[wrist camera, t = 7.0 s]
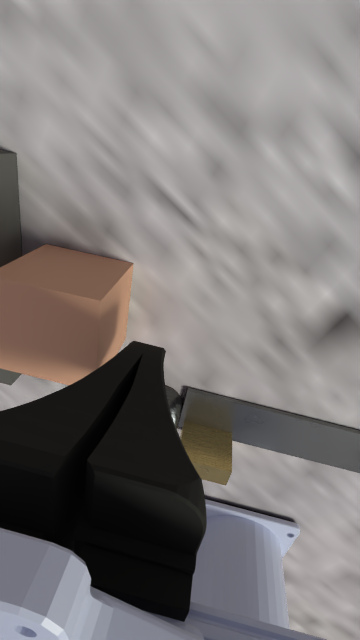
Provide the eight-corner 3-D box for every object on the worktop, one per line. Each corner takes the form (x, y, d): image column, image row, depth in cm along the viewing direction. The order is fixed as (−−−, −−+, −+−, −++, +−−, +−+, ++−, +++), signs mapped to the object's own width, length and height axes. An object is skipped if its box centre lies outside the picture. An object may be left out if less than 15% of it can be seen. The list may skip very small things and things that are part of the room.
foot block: (125, 338, 18) (95, 391, 14) (49, 320, 18) (-2, 367, 14) (134, 262, 16) (100, 301, 12) (46, 243, 16) (-15, 274, 12)
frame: (434, 495, 20) (476, 569, 17) (139, 419, 21) (119, 474, 17) (471, 458, 18) (527, 532, 15) (146, 377, 19) (126, 428, 16)
